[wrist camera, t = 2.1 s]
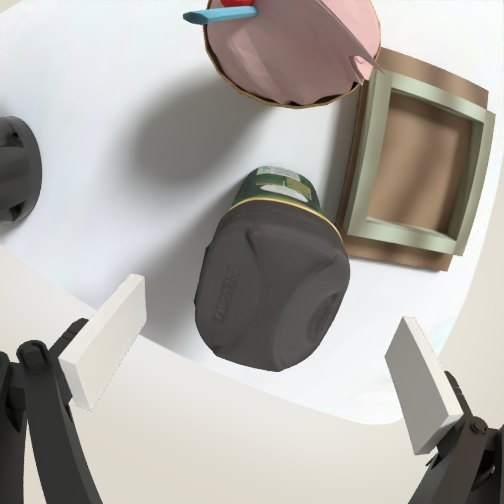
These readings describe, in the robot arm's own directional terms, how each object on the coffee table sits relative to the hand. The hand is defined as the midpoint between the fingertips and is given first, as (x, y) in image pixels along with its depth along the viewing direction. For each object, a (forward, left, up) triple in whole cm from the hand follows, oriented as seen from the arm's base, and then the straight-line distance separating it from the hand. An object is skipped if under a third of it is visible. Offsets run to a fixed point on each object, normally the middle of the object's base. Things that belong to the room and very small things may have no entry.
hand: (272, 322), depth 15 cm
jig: (+14, +8, -19) cm, 24 cm away
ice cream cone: (-1, +16, -19) cm, 24 cm away
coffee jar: (0, 0, -19) cm, 19 cm away
